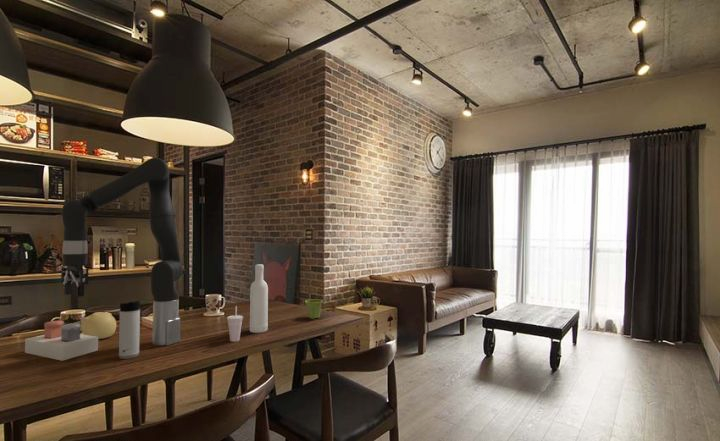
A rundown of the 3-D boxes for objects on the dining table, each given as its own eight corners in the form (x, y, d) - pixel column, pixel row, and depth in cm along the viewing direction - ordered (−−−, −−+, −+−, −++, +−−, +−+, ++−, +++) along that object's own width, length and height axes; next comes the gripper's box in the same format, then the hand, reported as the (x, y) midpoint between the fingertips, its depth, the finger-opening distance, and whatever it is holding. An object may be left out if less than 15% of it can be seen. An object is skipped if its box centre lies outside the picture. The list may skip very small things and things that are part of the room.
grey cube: (83, 339, 138) (84, 323, 138) (67, 344, 133) (67, 327, 133) (74, 338, 140) (74, 322, 140) (57, 342, 135) (57, 325, 135)
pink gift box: (66, 336, 142) (67, 321, 142) (49, 340, 136) (50, 324, 137) (57, 335, 144) (57, 319, 144) (40, 339, 138) (41, 323, 139)
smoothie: (246, 339, 155) (246, 305, 155) (235, 343, 149) (235, 308, 149) (234, 337, 157) (234, 304, 158) (223, 341, 152) (223, 307, 152)
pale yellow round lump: (105, 332, 163) (105, 308, 164) (121, 336, 158) (122, 311, 158) (76, 339, 153) (76, 313, 153) (92, 343, 148) (93, 316, 148)
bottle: (261, 333, 163) (261, 265, 164) (246, 332, 166) (246, 265, 166) (271, 329, 171) (271, 264, 171) (256, 327, 173) (257, 263, 174)
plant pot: (302, 319, 190) (302, 302, 190) (307, 315, 199) (308, 298, 199) (320, 320, 188) (320, 302, 189) (324, 315, 198) (324, 299, 198)
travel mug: (124, 360, 129) (125, 303, 129) (115, 357, 132) (116, 301, 133) (143, 355, 134) (144, 300, 135) (133, 352, 138) (134, 298, 138)
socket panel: (97, 350, 140) (98, 337, 140) (62, 360, 128) (62, 346, 129) (61, 343, 148) (61, 330, 148) (24, 352, 136) (25, 339, 137)
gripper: (96, 252, 140) (95, 295, 139) (76, 251, 146) (75, 292, 146) (74, 253, 133) (72, 298, 133) (53, 252, 140) (52, 295, 139)
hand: (74, 295), depth 139 cm, fingers open, 8 cm apart
